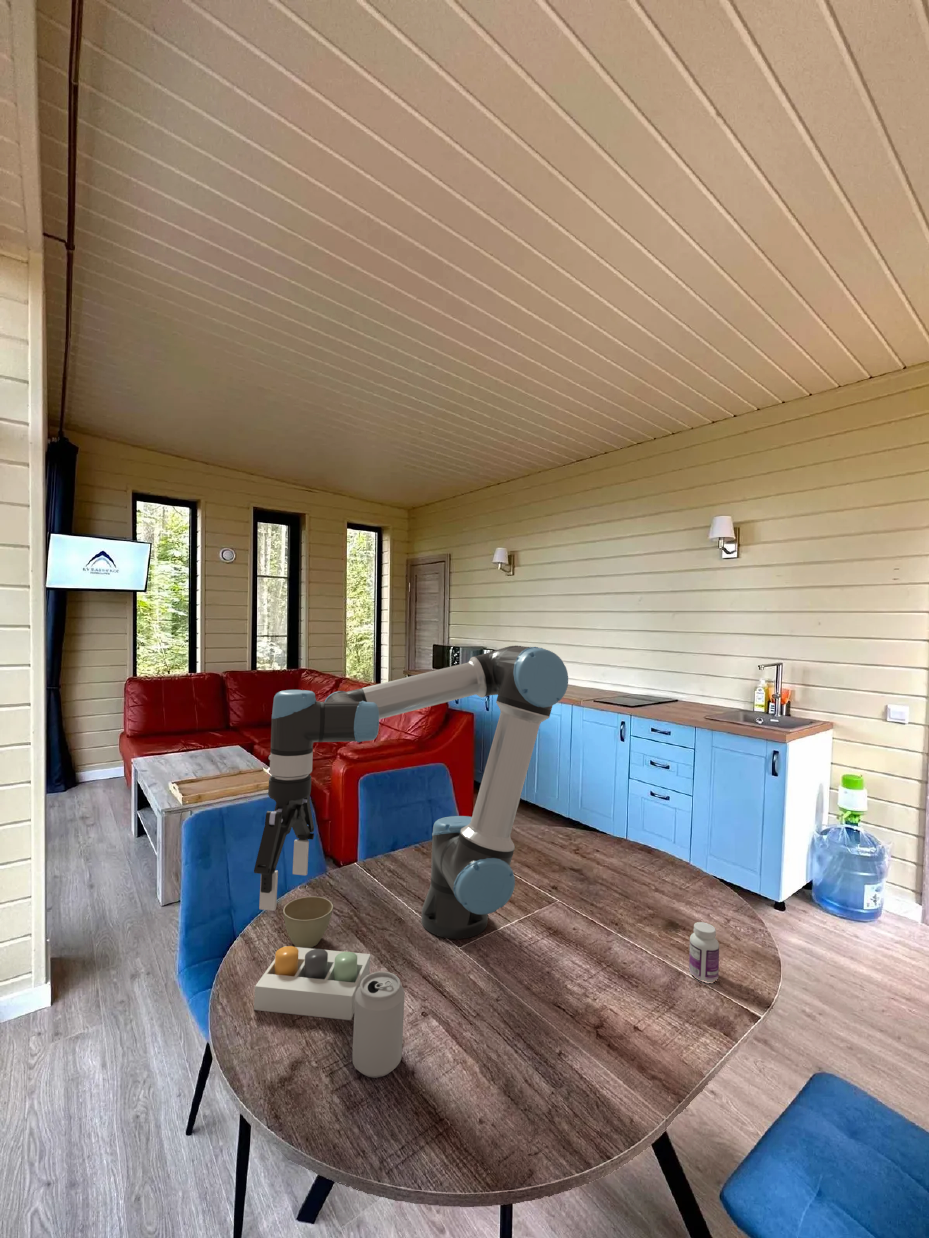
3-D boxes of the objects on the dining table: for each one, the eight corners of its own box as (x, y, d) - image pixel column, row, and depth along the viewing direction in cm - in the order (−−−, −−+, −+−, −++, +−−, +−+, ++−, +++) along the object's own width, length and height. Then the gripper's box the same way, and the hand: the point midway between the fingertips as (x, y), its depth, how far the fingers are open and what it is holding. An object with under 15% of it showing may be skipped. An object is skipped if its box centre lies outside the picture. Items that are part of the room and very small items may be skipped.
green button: (359, 974, 100) (360, 952, 100) (352, 988, 96) (353, 966, 96) (337, 972, 100) (338, 950, 100) (330, 986, 96) (331, 963, 96)
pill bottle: (716, 971, 110) (718, 923, 110) (719, 987, 105) (721, 936, 105) (687, 964, 112) (689, 917, 112) (689, 980, 107) (691, 930, 107)
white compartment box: (369, 975, 104) (370, 954, 104) (350, 1020, 92) (352, 996, 92) (283, 966, 105) (284, 945, 105) (253, 1009, 93) (255, 986, 93)
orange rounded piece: (300, 968, 101) (301, 947, 101) (292, 982, 97) (293, 960, 97) (280, 966, 101) (281, 945, 101) (270, 980, 97) (271, 957, 97)
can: (354, 1043, 87) (358, 967, 87) (402, 1042, 87) (405, 966, 88) (348, 1082, 79) (352, 999, 80) (400, 1081, 80) (404, 998, 80)
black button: (329, 971, 100) (330, 949, 100) (322, 985, 96) (323, 963, 96) (308, 969, 101) (309, 947, 101) (300, 983, 97) (301, 960, 97)
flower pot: (317, 959, 108) (319, 923, 108) (272, 951, 110) (273, 915, 110) (339, 932, 118) (340, 899, 118) (296, 925, 120) (298, 892, 120)
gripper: (298, 757, 114) (293, 860, 113) (236, 792, 89) (229, 924, 88) (333, 760, 113) (328, 863, 112) (280, 796, 88) (273, 928, 88)
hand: (284, 890), depth 100 cm, fingers open, 13 cm apart
